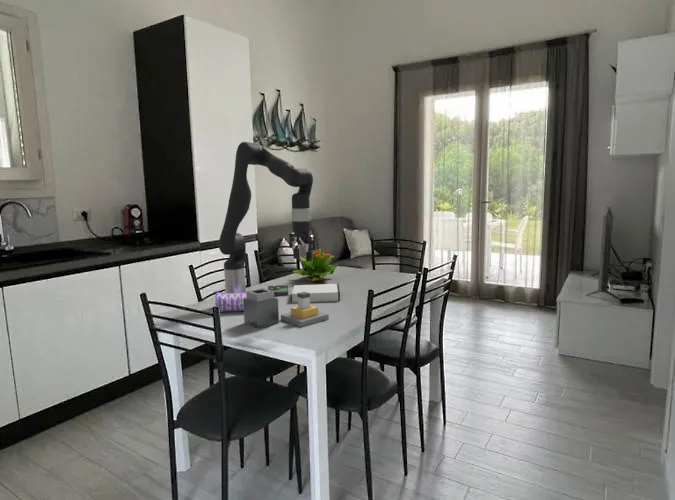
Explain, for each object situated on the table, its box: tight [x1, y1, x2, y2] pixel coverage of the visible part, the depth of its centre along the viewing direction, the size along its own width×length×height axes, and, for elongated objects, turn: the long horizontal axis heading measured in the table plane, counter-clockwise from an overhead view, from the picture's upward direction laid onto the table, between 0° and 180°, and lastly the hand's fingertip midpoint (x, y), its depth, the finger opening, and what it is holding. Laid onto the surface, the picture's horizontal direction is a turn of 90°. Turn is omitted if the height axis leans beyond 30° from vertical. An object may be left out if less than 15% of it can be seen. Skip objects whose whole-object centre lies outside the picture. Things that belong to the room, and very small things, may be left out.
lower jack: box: [280, 304, 330, 328], centre depth 186 cm, size 14×14×5 cm
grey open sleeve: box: [243, 287, 280, 329], centre depth 182 cm, size 10×10×13 cm
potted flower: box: [292, 248, 339, 283], centre depth 261 cm, size 25×24×18 cm
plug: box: [297, 292, 311, 310], centre depth 185 cm, size 4×4×9 cm
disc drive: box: [291, 283, 341, 303], centre depth 222 cm, size 18×22×5 cm
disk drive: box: [267, 284, 289, 297], centre depth 233 cm, size 10×3×15 cm
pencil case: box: [213, 290, 247, 313], centre depth 201 cm, size 22×9×10 cm, turn 103°
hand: (302, 259), depth 183 cm, fingers open, 8 cm apart
